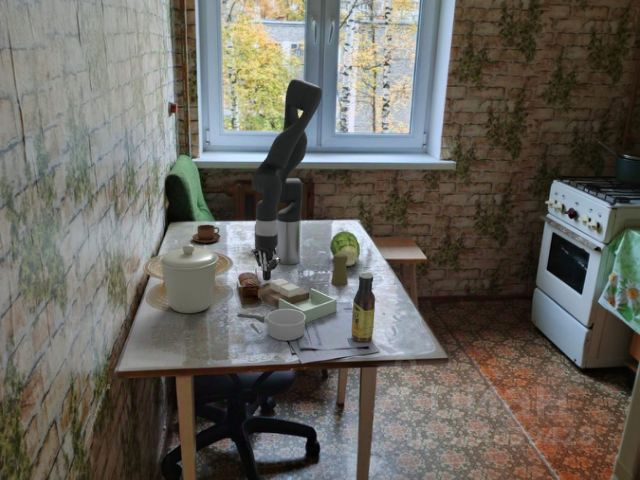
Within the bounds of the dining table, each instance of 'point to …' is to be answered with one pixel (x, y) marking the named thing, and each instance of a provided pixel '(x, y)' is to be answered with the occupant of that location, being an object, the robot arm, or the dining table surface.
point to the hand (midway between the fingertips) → (266, 279)
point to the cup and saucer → (206, 234)
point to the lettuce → (346, 246)
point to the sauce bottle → (363, 309)
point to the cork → (340, 270)
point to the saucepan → (282, 323)
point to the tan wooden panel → (280, 296)
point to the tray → (313, 305)
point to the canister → (189, 278)
